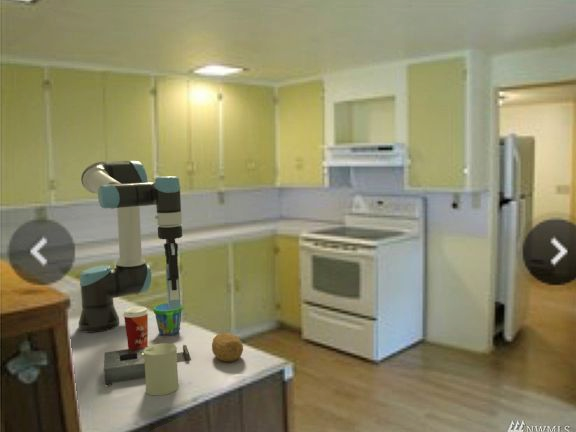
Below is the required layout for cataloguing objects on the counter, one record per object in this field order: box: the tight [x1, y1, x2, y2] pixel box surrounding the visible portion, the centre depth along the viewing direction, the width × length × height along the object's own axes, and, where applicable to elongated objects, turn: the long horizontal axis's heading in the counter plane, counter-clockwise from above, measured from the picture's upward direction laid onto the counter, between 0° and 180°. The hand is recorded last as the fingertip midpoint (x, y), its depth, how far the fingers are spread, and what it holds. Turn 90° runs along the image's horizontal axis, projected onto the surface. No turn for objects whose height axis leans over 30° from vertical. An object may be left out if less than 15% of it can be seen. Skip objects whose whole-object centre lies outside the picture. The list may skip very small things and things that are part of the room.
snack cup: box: [153, 302, 184, 337], centre depth 191 cm, size 16×10×10 cm
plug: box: [165, 263, 182, 310], centre depth 163 cm, size 4×4×14 cm
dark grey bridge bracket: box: [177, 344, 192, 363], centre depth 165 cm, size 8×8×3 cm
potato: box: [211, 332, 244, 363], centre depth 163 cm, size 10×14×8 cm
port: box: [103, 345, 150, 387], centre depth 155 cm, size 14×14×5 cm
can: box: [143, 342, 180, 396], centre depth 144 cm, size 9×9×12 cm
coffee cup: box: [122, 306, 149, 349], centre depth 171 cm, size 8×8×15 cm
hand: (173, 297), depth 163 cm, fingers closed on plug, 4 cm apart
